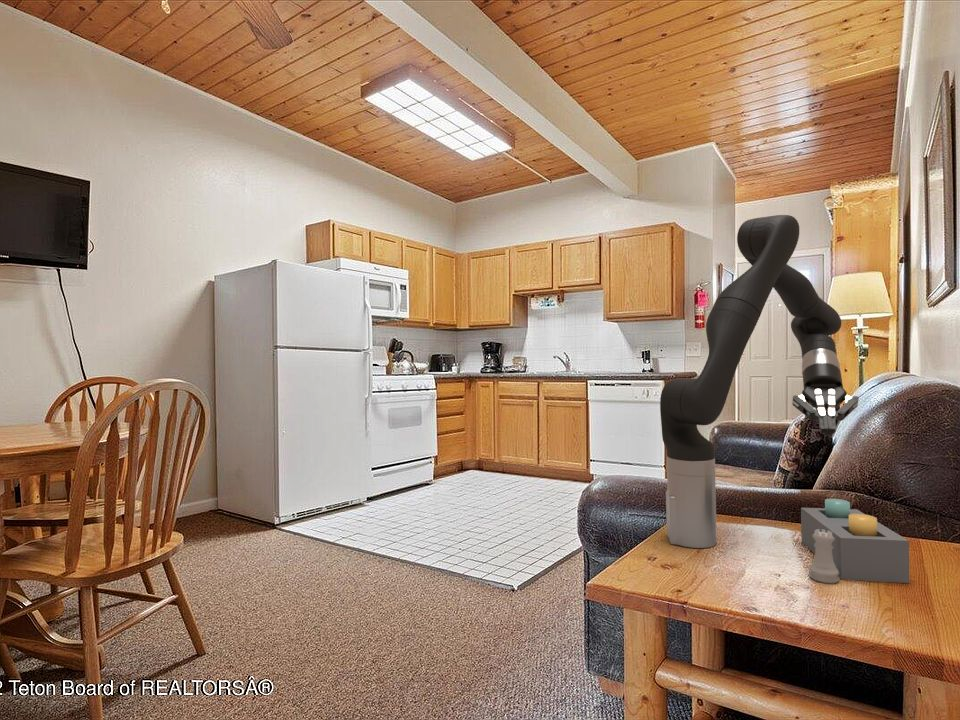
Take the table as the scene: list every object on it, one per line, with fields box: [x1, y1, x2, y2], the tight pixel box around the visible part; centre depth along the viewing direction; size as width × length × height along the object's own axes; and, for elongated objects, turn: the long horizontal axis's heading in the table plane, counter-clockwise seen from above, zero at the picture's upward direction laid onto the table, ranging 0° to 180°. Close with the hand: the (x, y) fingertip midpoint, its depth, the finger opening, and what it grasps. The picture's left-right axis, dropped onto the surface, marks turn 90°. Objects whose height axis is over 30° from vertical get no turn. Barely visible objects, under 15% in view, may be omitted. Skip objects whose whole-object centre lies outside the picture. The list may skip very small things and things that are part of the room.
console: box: [800, 507, 911, 584], centre depth 99 cm, size 10×18×7 cm, turn 168°
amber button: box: [849, 513, 878, 537], centre depth 94 cm, size 4×4×4 cm
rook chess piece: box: [808, 529, 841, 585], centre depth 91 cm, size 4×4×8 cm
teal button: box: [824, 498, 851, 519], centre depth 103 cm, size 4×4×4 cm
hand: (828, 433), depth 114 cm, fingers closed
